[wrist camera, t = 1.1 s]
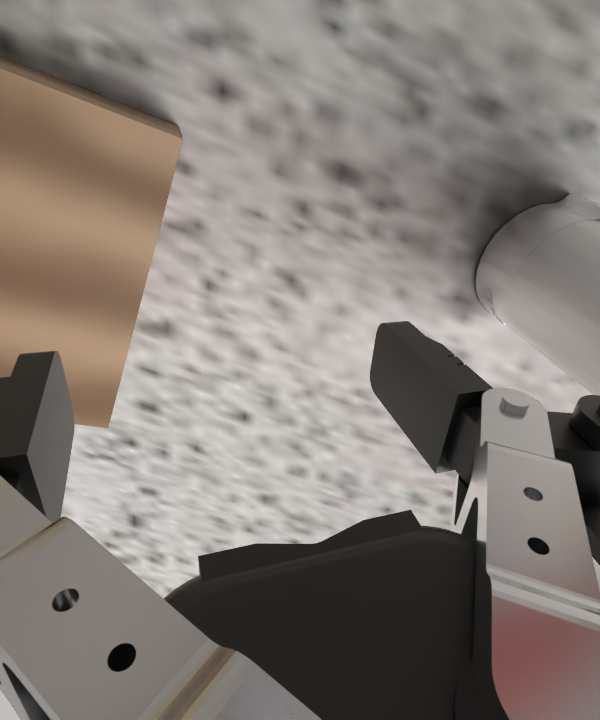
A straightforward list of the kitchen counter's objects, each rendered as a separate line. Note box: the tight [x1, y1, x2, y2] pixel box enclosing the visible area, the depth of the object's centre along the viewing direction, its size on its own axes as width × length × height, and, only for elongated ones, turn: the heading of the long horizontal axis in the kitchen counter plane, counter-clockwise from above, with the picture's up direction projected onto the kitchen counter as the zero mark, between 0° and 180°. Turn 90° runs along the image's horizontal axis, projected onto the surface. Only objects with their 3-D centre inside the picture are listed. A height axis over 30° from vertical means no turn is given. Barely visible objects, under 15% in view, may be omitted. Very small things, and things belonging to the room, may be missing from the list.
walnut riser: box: [0, 56, 183, 428], centre depth 24 cm, size 18×14×4 cm
